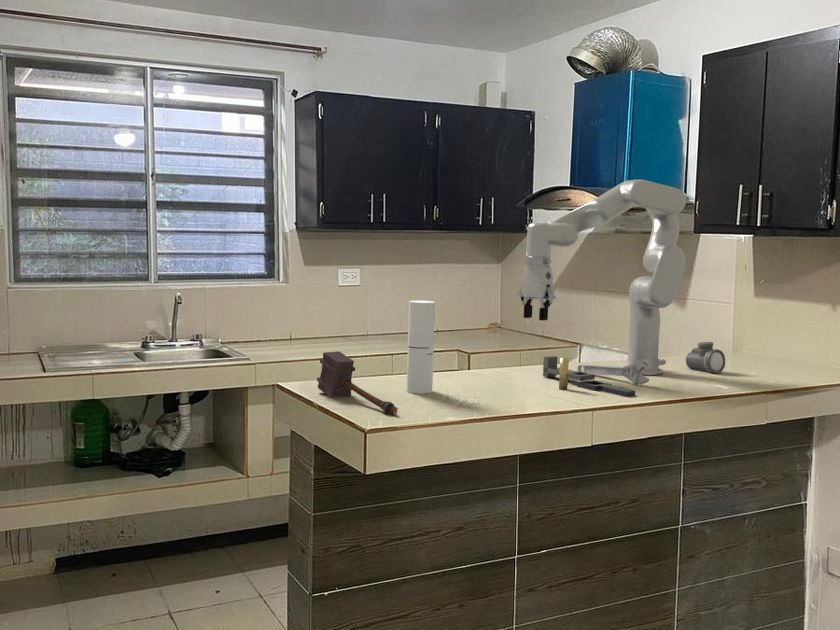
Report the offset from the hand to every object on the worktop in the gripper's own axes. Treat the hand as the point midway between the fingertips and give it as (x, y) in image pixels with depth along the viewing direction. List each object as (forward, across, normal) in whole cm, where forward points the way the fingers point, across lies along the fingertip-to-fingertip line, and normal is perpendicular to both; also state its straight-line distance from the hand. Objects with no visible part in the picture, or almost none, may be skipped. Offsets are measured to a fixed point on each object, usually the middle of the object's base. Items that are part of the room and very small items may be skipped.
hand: (535, 318), depth 254 cm
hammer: (+18, -11, +71) cm, 74 cm away
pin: (+18, -23, +10) cm, 31 cm away
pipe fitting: (+18, -23, -57) cm, 64 cm away
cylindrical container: (+18, -6, +49) cm, 53 cm away
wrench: (+18, -20, -15) cm, 31 cm away
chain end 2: (+18, -31, 0) cm, 36 cm away
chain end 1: (+17, -15, 0) cm, 23 cm away
